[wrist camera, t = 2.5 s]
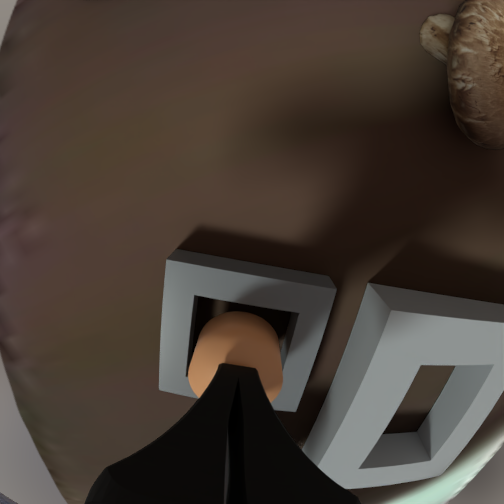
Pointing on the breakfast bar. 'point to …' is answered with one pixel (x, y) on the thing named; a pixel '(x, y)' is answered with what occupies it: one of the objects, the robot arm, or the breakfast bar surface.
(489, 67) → the mushroom
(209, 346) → the switch button
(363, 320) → the socket plate
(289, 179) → the breakfast bar surface
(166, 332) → the frame
